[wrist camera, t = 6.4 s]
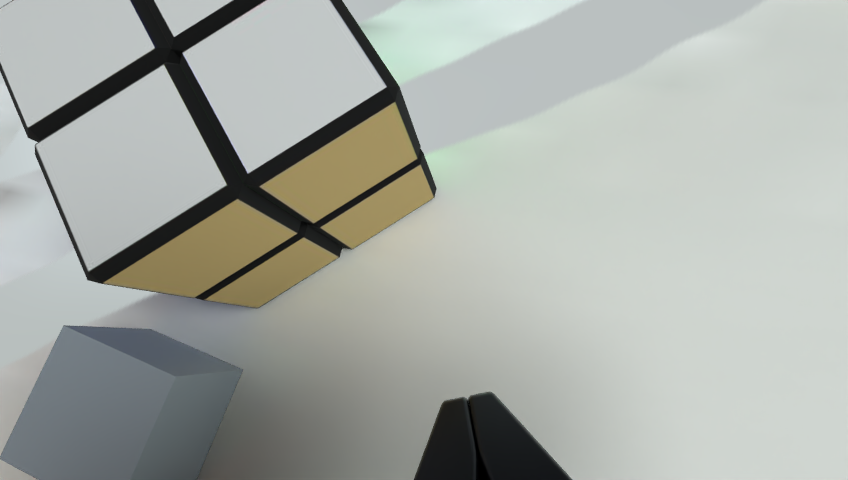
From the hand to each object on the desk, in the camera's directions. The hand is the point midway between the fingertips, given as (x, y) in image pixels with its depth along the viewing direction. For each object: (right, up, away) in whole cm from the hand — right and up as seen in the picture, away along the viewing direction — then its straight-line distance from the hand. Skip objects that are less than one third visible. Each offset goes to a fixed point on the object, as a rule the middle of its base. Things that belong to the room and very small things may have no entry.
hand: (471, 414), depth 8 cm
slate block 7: (-12, -4, +14) cm, 19 cm away
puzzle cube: (-7, +6, +16) cm, 19 cm away
